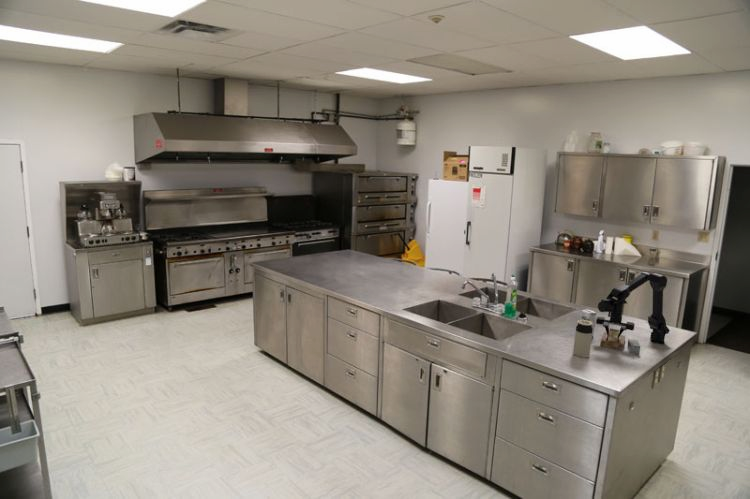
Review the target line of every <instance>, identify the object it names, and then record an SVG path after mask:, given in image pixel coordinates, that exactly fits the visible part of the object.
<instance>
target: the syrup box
mask: <svg viewBox="0 0 750 499" xmlns="http://www.w3.org/2000/svg"><path fill="white" fill-rule="evenodd" d="M596 317H597V312H595V311H593V310H590V309H582V310H581V316H580V320H587V321H591V322H592V323H593V325H592V329H593V332H592V337H594V333H595V325H596V319H597V318H596Z"/></svg>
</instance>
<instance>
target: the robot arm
mask: <svg viewBox="0 0 750 499" xmlns="http://www.w3.org/2000/svg"><path fill="white" fill-rule="evenodd" d="M648 281H649V286H650V288H651V289H652V311H651V312H652V313H651V315H650V316H649V315H648V316H647V324H648V326H649V329H650V330H652V331H650V338H649V340H650V342H651V343H655V344H661V345H665V338H666V335H667V334H670V329H669V327H668V326H667V320H666V318H665V316H664V315H663V314H664V313H663V310H664V307H663V306H664V305H663V304H664V290H665V288H666V287H667V282H668V277H666V276H665V275H664V274H663V275H662V274H659V273H656V272H653V273H650V272H646V271H642V272H641V273H640V274H639V275H637V276H636V277H634V278H633V279H631V280H629V281H628V282H626V283H625V284H621V285H618V286H616V287H613V288H612V289H611V291H610V293H609V294H608V295H607V296H606V297H605V299H604V298H603V299H601V301H599V302H598V304H597V308H598V312H600V313H608V314H607V317H609V319H606V317H604V316H596V317H597V318H596V319H595V325H596V324H597V325H601V326H602V327H603V328H604V329H605V332H607V336H608V337H609V330H610V325H614V326H619V327H620V329H619V335H618V339H619V337H620V335H623V332H624V331H634V329H635V323H634V322H633V321H632V322H631V321H626V322H622V321H623V314H624V313H623V310H624V305H625V304H628V302H627V300H626V299H628V298H629V297H630V295H631V293H632V292H633V291H635V290H636V289H638V288H639V287H641V286H642V285H644V284H645V283H647V282H648Z"/></svg>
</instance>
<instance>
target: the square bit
mask: <svg viewBox="0 0 750 499" xmlns="http://www.w3.org/2000/svg"><path fill="white" fill-rule="evenodd" d="M619 331H620V329H617V328H616V329H615V328H610V327H609V337H608V341H612V342H617V341H618V334H619Z"/></svg>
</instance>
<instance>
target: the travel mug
mask: <svg viewBox="0 0 750 499" xmlns="http://www.w3.org/2000/svg"><path fill="white" fill-rule="evenodd" d="M576 322H577V325H576V326H575V332H574V333H575V334H574V340H573V342H574V344H573V348H572V349H573V350H572V353H573V355H574V356H577V357H579V358H583V359H584V358H588V357H590V353H591V345H592V340H593V336H592V332H593V329H592V325H593V323H592V322H591V321H587V320H581V319H578V320H577V321H576Z"/></svg>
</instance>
